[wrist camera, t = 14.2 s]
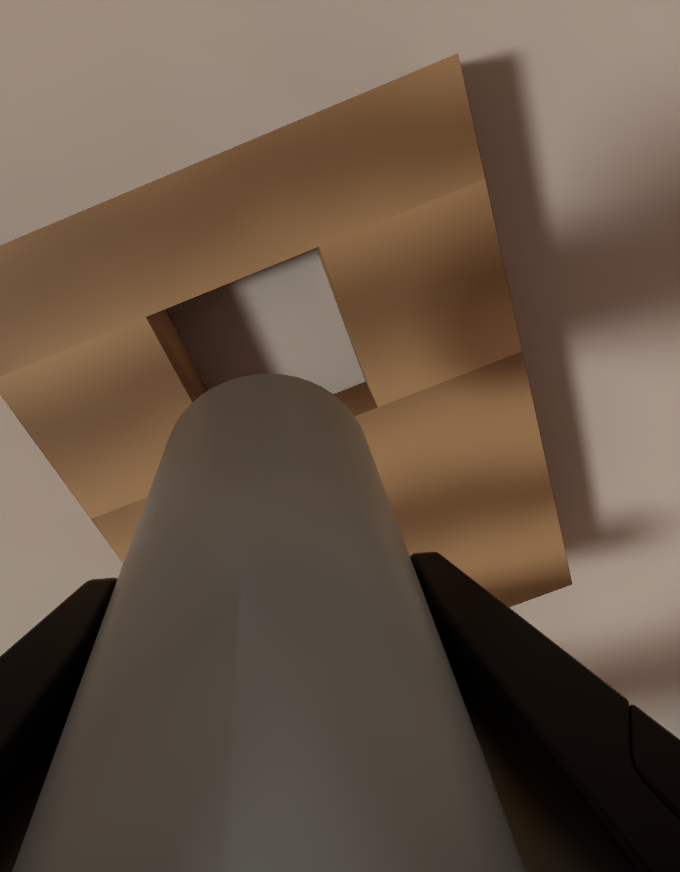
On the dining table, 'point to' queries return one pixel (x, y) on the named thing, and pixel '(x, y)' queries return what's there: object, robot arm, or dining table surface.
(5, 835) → the robot arm
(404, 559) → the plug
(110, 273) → the socket base
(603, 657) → the dining table surface
